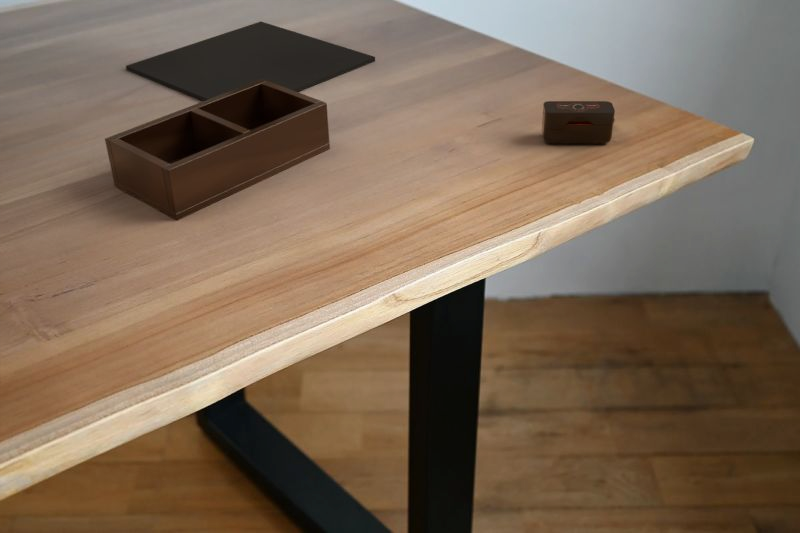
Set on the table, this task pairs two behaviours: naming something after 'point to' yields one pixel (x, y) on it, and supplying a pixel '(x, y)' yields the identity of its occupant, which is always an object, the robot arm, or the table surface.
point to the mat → (249, 62)
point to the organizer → (217, 147)
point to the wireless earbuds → (577, 121)
